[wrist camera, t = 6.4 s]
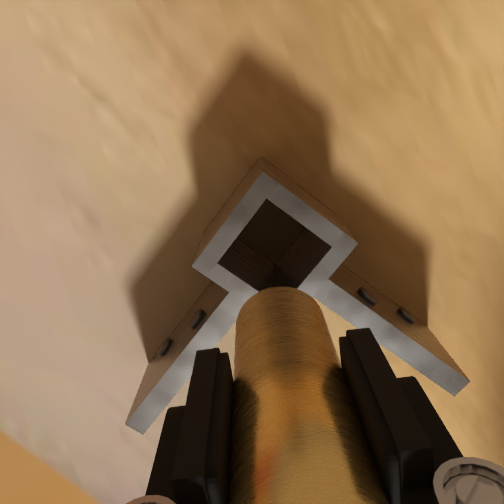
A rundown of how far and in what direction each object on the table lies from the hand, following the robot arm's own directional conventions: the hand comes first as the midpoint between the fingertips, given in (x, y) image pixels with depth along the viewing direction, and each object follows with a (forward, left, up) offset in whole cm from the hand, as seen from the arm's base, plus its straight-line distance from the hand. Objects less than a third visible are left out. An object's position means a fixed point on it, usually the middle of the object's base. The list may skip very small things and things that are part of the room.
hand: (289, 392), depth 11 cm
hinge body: (-5, +5, -17) cm, 18 cm away
